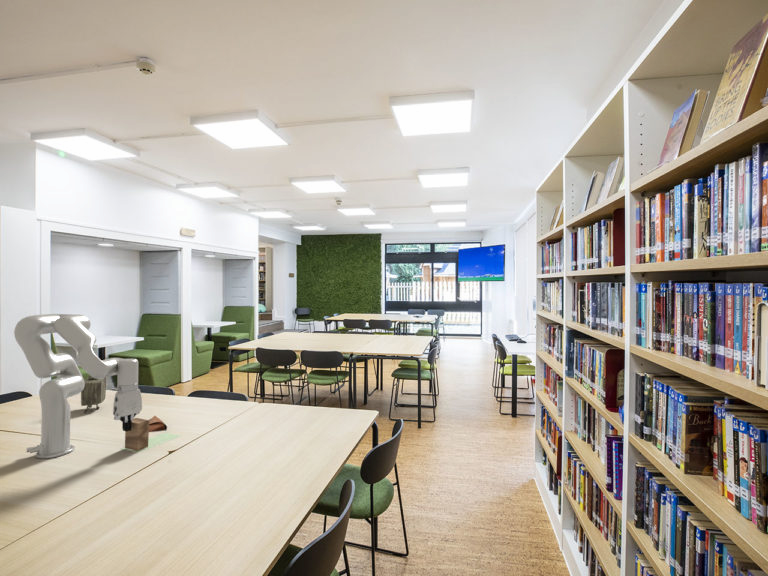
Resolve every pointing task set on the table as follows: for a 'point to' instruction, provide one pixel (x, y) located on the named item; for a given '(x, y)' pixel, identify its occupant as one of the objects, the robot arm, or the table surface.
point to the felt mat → (157, 440)
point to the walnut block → (137, 435)
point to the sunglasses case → (156, 424)
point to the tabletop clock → (93, 392)
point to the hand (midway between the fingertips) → (126, 430)
